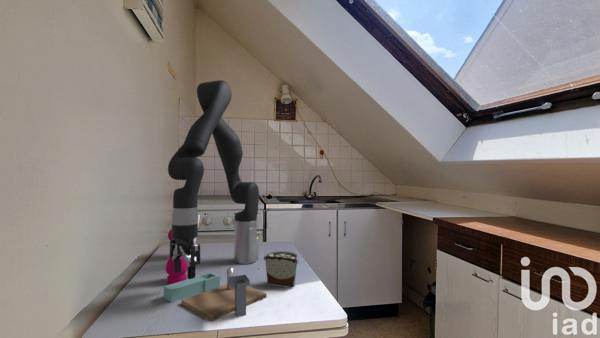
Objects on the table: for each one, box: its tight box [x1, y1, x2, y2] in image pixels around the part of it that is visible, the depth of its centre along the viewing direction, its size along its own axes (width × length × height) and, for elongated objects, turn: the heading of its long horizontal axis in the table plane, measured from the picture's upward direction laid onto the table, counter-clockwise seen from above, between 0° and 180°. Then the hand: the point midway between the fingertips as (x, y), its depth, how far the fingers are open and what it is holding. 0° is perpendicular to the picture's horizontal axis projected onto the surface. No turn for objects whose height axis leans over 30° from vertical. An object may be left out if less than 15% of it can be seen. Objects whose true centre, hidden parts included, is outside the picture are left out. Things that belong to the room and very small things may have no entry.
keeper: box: [228, 274, 251, 317], centre depth 81 cm, size 6×5×8 cm
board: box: [180, 283, 267, 322], centre depth 88 cm, size 19×15×1 cm
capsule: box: [226, 267, 234, 290], centre depth 93 cm, size 2×2×8 cm
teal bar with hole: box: [163, 271, 221, 303], centre depth 94 cm, size 16×5×4 cm, turn 139°
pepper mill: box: [165, 228, 188, 285], centre depth 103 cm, size 7×7×20 cm
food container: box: [263, 250, 300, 288], centre depth 102 cm, size 12×6×10 cm, turn 71°
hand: (184, 275), depth 92 cm, fingers open, 8 cm apart
